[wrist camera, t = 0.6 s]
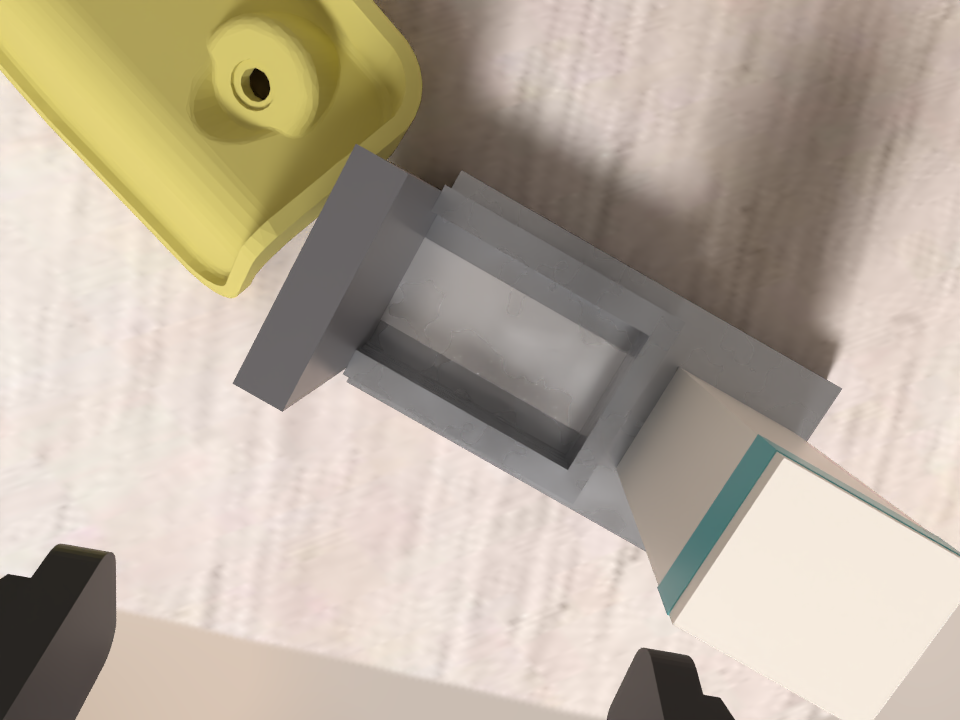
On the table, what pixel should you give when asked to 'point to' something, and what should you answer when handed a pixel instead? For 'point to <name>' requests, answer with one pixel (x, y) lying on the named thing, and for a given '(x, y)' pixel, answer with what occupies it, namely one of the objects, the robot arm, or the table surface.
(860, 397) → the table surface
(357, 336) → the end stop
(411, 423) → the table surface
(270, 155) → the plastic component
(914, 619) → the block
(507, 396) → the rail plate
